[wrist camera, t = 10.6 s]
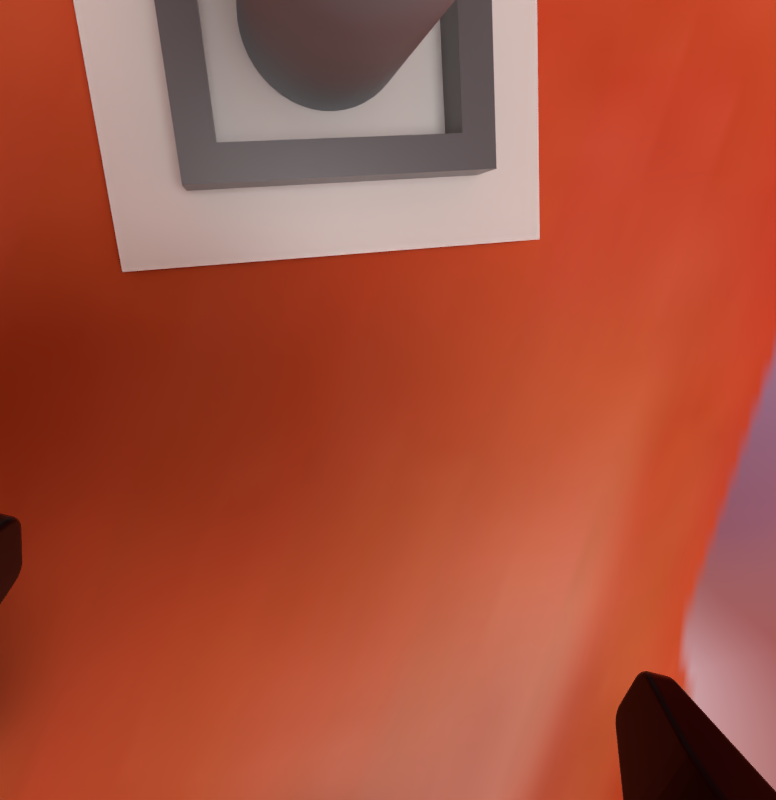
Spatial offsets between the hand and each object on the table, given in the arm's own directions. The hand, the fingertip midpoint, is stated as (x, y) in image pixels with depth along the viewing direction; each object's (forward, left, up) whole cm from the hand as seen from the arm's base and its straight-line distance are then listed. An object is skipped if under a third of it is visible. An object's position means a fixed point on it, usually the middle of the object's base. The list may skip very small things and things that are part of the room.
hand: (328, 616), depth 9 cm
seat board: (+3, +11, -12) cm, 17 cm away
